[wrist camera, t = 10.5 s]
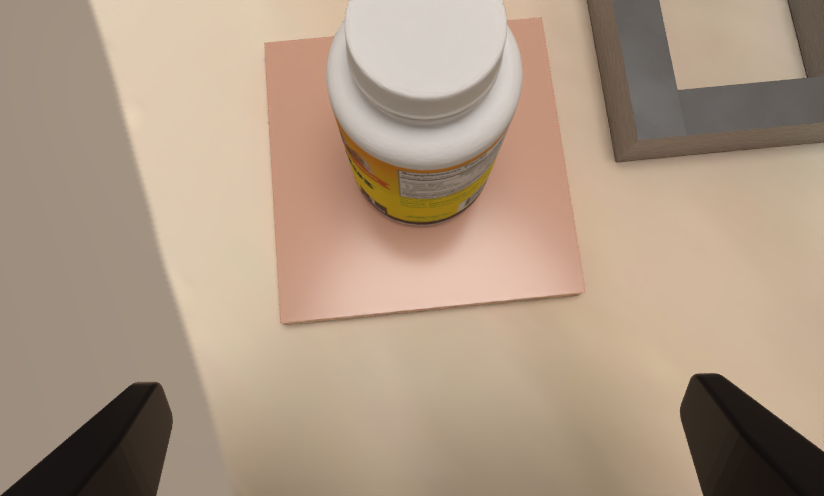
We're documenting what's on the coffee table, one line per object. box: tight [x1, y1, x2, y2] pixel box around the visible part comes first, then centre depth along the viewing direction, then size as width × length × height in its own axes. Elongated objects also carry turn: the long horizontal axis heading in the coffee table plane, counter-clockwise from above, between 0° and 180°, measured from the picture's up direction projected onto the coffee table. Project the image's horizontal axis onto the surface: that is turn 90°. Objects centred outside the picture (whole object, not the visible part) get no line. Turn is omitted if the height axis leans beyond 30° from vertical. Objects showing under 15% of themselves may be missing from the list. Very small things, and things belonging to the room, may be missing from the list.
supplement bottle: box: [326, 0, 523, 226], centre depth 19 cm, size 6×6×10 cm
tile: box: [264, 17, 586, 325], centre depth 24 cm, size 12×12×1 cm
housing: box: [587, 0, 824, 162], centre depth 25 cm, size 11×11×2 cm
